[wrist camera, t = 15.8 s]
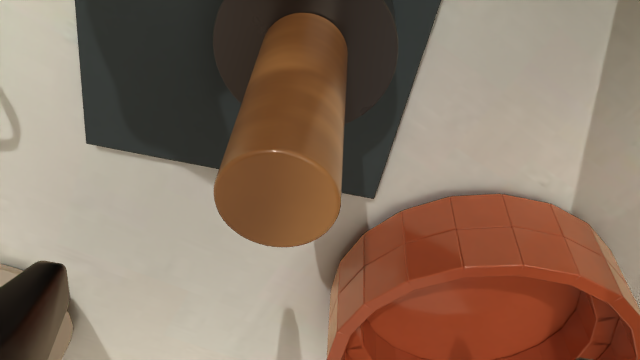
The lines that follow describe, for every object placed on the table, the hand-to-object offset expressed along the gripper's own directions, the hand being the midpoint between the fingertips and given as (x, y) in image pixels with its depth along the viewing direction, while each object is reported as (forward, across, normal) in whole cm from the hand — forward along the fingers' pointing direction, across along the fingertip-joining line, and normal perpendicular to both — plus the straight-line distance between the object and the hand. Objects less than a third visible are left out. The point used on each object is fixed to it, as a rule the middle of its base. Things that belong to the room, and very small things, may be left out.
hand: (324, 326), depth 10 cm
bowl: (+12, -9, +12) cm, 19 cm away
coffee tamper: (+12, +1, 0) cm, 12 cm away
